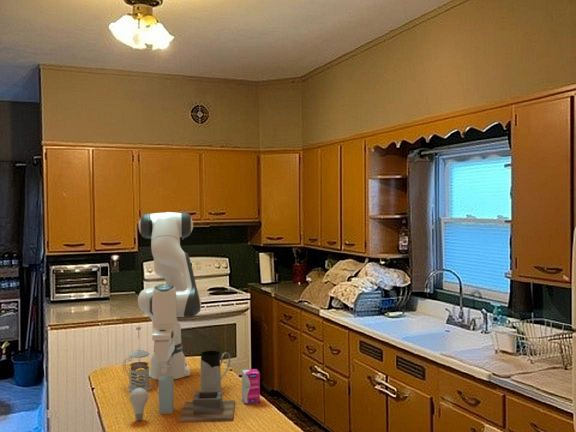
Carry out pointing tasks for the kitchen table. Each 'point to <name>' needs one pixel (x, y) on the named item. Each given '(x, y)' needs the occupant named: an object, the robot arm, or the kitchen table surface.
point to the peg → (166, 395)
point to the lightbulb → (138, 401)
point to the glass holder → (211, 370)
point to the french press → (140, 382)
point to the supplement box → (250, 386)
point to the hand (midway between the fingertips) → (166, 369)
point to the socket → (207, 408)
